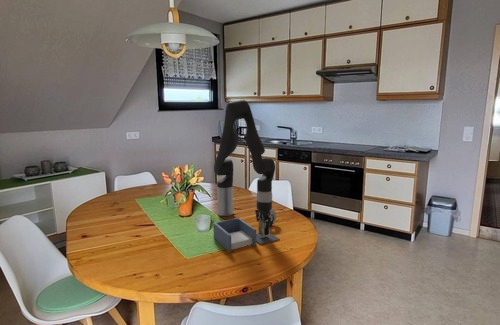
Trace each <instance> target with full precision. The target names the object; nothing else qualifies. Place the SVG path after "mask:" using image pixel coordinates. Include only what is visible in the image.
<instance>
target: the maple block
mask: <svg viewBox="0 0 500 325" xmlns="http://www.w3.org/2000/svg"><path fill="white" fill-rule="evenodd" d="M265 221H268V220H265ZM266 225H267V223H266ZM264 228H265V226H264V223H263V220H259V222H258V233H259V234H260V235H261V236H267V235H265V234H264ZM270 229H271V227H270V228H269V234H268V235H270V233H271V230H270Z"/></svg>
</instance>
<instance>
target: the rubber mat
mask: <svg viewBox="0 0 500 325" xmlns="http://www.w3.org/2000/svg"><path fill="white" fill-rule="evenodd" d="M278 240H279V241H280V240H281V239H280V238H279V237H278V236H276V235H275V234H273V233H271V232H270V235H267V236H261V235H260V234H259V232H258V233H256V244H258V243H259V244H258V245H259V246H262V244H263V245H265V244H266V245H267V244H271V243H274V241H275V242H278ZM270 242H271V243H270Z"/></svg>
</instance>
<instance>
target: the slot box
mask: <svg viewBox="0 0 500 325" xmlns="http://www.w3.org/2000/svg"><path fill="white" fill-rule="evenodd" d="M212 225H213V227H212V228H213V230H212V231H213V239H214V238H215V239H216V240H217V243H219V245H220V246H222V247H223V248H224V247H225V248H226V249H227V250H228V251H229V252H228V251H227V250H226V249H225V248H224V249H225V250H226V251H227V252H228V253H232V250H236V249H239V248H243V247H248V246H251V244H253V245H252V246H253V247H256V246H257V242H256V234H257V228H255V227H254V226H252V225H250V224H249V223H247V222H246V221H244V220H243V219H241V218H240V217H235V218H230V219H225V220H220V221H215V222H212ZM215 239H214V240H215ZM216 240H215V241H216ZM247 245H248V246H247ZM231 249H232V250H231Z"/></svg>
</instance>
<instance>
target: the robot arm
mask: <svg viewBox="0 0 500 325" xmlns="http://www.w3.org/2000/svg"><path fill="white" fill-rule="evenodd" d="M224 114H225V115H224V123H223V130H222V133H221V136H220V142H219V148H218V151H217V155H216V158H215V160H214V161H215V162H214V164H213V171H214V175H215V176H219V177H220V176H224V177H223V178H221V179H219V180H218V181H217V184H216V186H217V187H216V189H217V192H216V194H217V215H218V216H221V217H229V216H232V215H234V190H233V188H234V187H233V184H234V162H233V160H232V159H231V158H229V159H227V158H228V157H229V156H231V155H232V154H233V153H234V152H235V150H236V149H237V146H238V142H239V135H238V132H237V130H236V129H235V122H236V121H239V120H244V121H245V124H246V131H245V144H246V146H247V148H248V150H249V152H250V155H251V161H252V162H251V163H252V167H253V170H254V172H255V173H256V174H258V175H262V176H261V177H259V178H258V179H257V182H256V209H255V212H254V213H255V218H256V222H258V223H259V220H263V223H264V226H265V228H264V234H265V235H268V234H269V228H270V229H271V228H272V227H273V225H274V224H273V220H274V217H271V215H270V210H271V209H273V191H272V190H273V185H272V184H273V179H274V176H275V172H276V171H275V170H276V163H275V161H274V159H273V158H271V157H264V158H263V157H262V156H263V155H264V154H265V152H266V149H265V147H264V144H263V142H262V140H261V138H260V135H259V132H258V130H257V127H256V123H255V119H254V115H253V112H252V110H251V106H250V104H249V103H248V101H247V100H245V99H239V100H233V101H229V102H227V105H226V108H225V113H224ZM265 220H268V221H265ZM266 223H267V225H266Z"/></svg>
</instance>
